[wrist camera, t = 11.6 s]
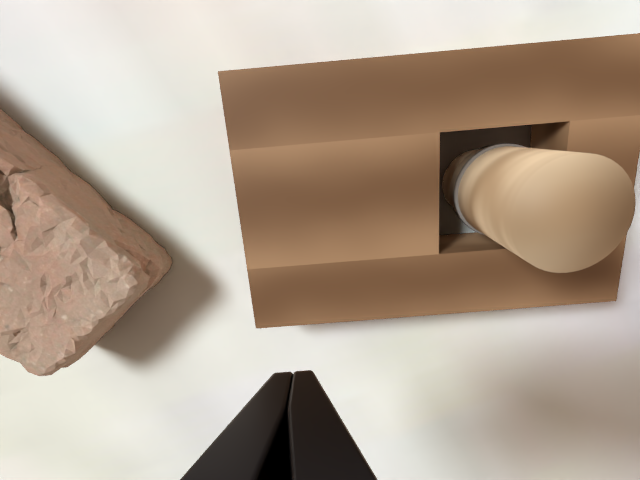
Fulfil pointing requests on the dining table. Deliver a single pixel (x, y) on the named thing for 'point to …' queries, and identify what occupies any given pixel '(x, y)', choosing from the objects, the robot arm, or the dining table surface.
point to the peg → (543, 203)
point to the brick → (62, 258)
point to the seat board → (411, 175)
